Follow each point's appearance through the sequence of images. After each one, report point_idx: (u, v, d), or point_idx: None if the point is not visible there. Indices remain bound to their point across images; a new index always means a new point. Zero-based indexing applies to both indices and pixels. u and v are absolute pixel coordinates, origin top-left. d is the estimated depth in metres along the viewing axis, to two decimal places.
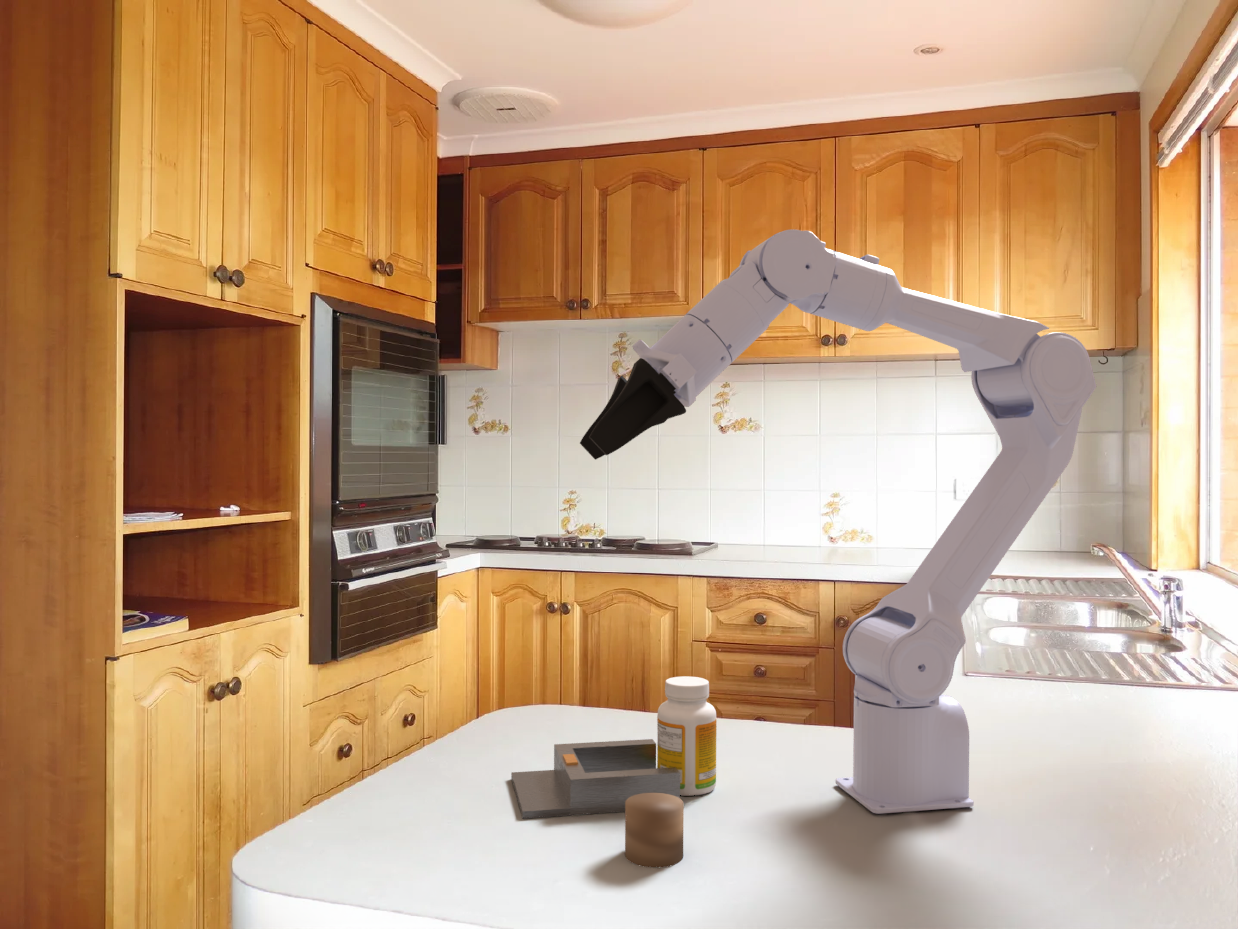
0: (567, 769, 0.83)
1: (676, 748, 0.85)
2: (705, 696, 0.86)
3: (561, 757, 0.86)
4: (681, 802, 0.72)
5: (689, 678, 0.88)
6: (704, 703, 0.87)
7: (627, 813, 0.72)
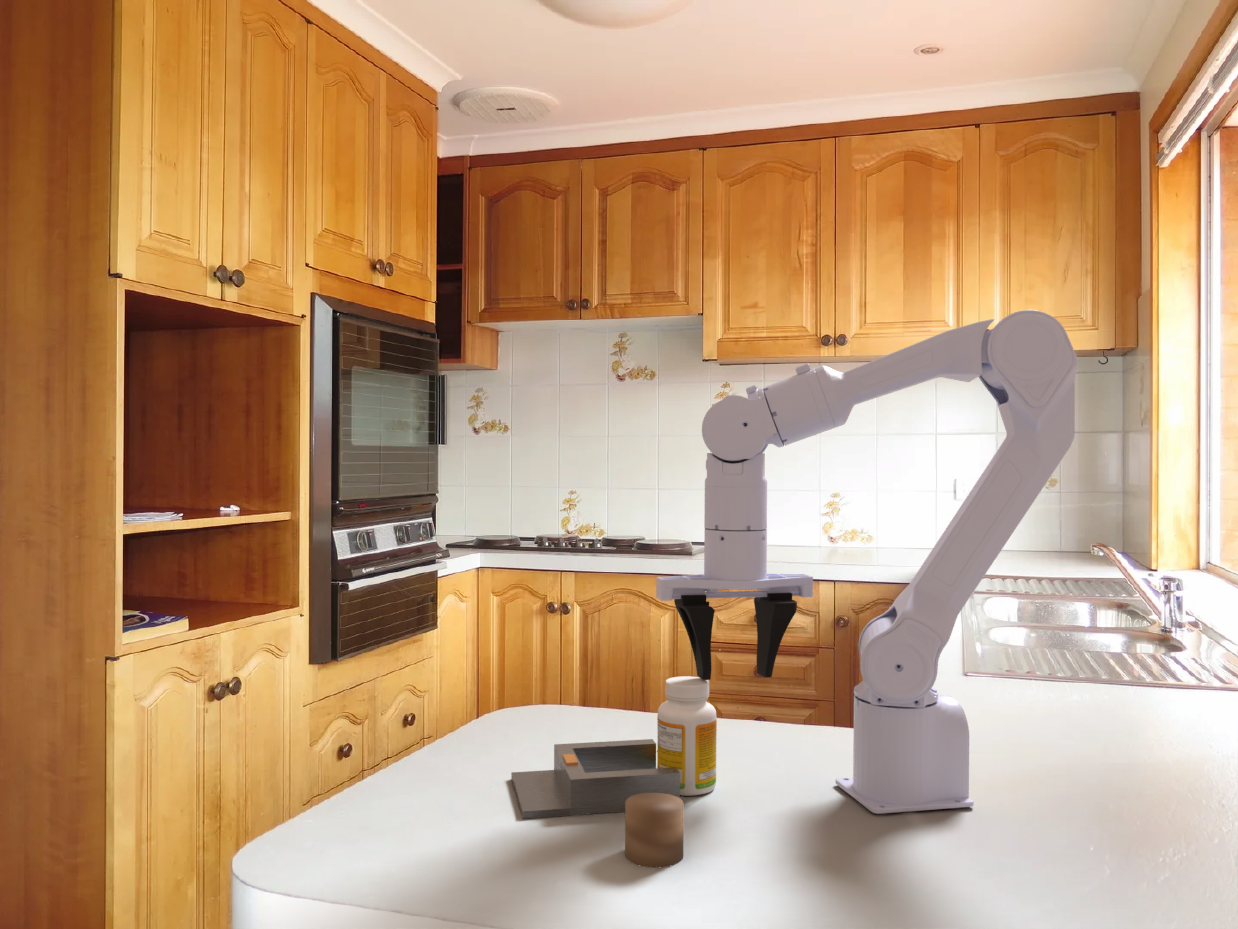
0: (567, 769, 0.83)
1: (676, 748, 0.85)
2: (705, 696, 0.86)
3: (561, 757, 0.86)
4: (681, 802, 0.73)
5: (689, 678, 0.88)
6: (705, 703, 0.87)
7: (627, 813, 0.72)
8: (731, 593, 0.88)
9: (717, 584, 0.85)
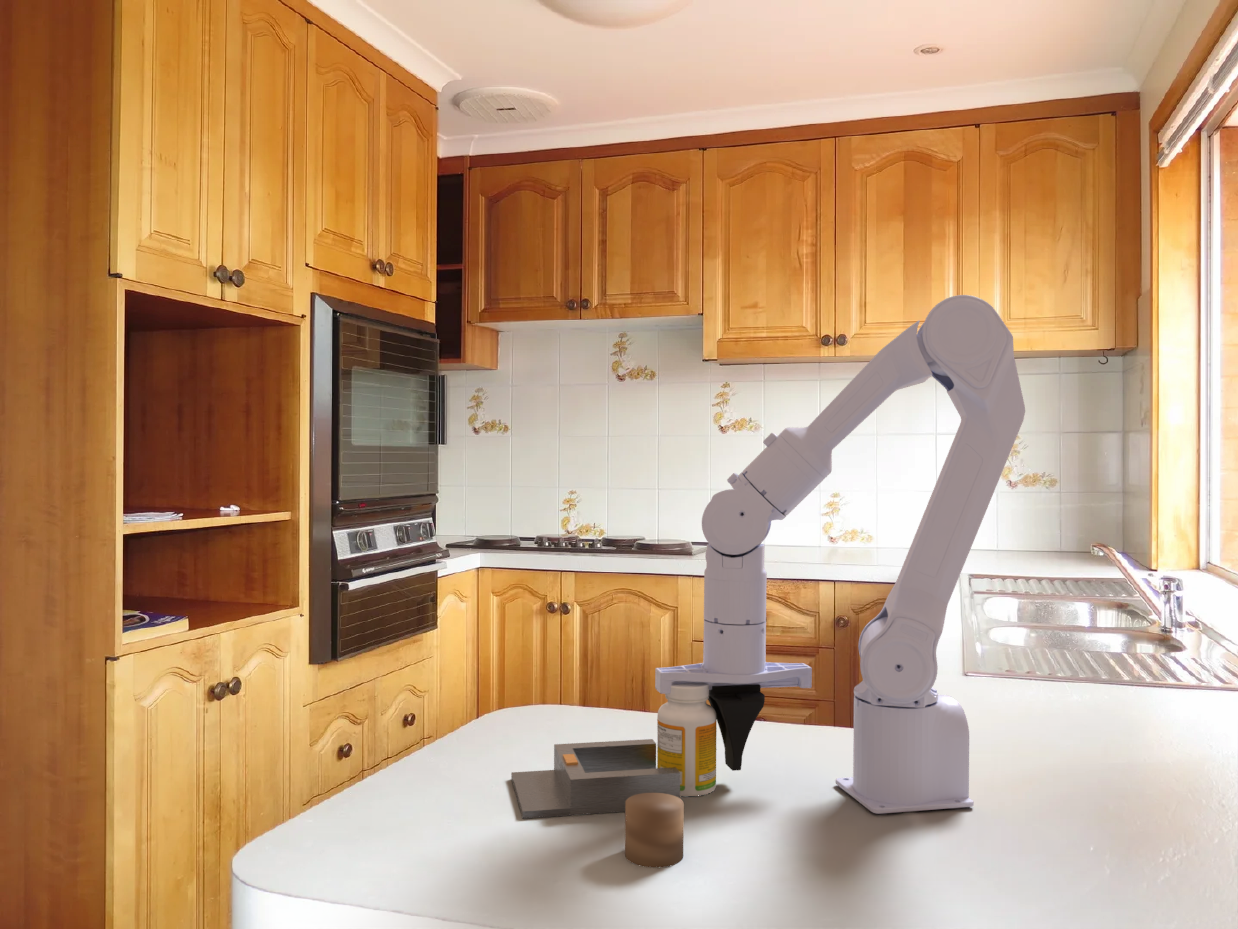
0: (567, 769, 0.83)
1: (676, 750, 0.85)
2: (705, 698, 0.86)
3: (561, 757, 0.86)
4: (681, 802, 0.72)
5: None
6: (704, 705, 0.87)
7: (627, 813, 0.72)
8: (730, 684, 0.88)
9: (716, 678, 0.86)
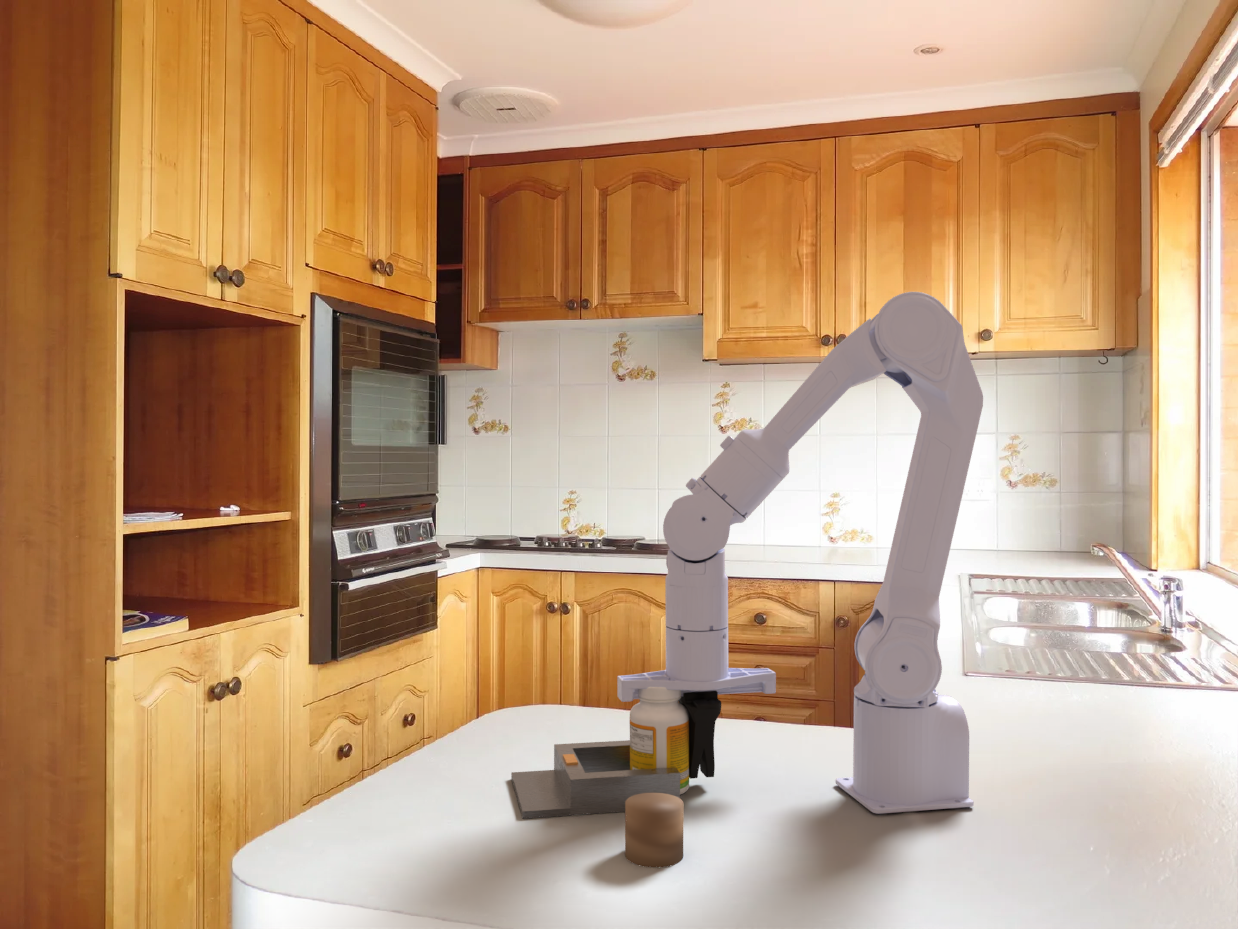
0: (567, 769, 0.83)
1: (647, 750, 0.84)
2: (677, 698, 0.86)
3: (561, 757, 0.86)
4: (681, 802, 0.72)
5: None
6: (676, 704, 0.86)
7: (627, 813, 0.72)
8: (693, 691, 0.87)
9: (677, 685, 0.85)
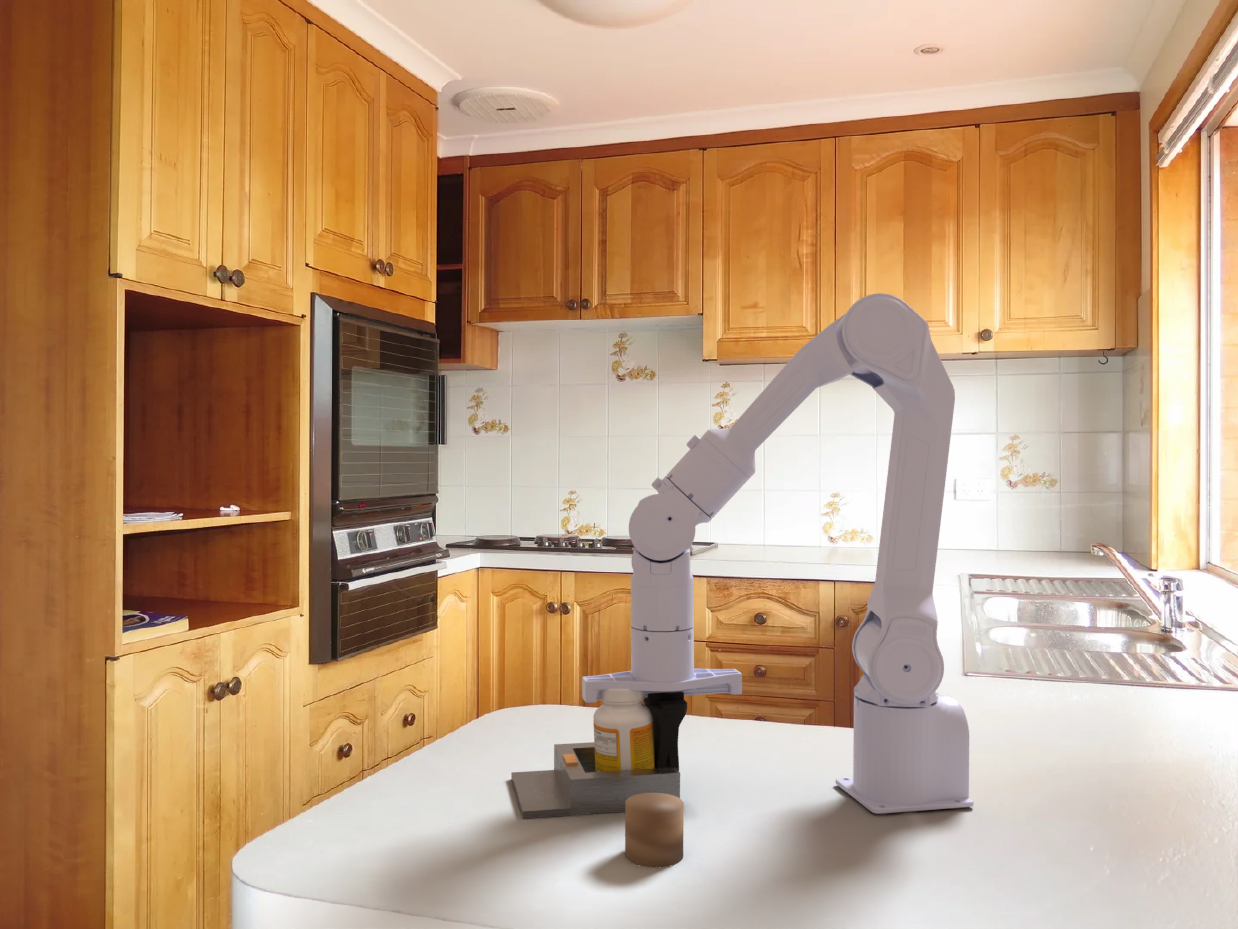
0: (567, 769, 0.83)
1: (611, 753, 0.84)
2: (640, 699, 0.85)
3: (561, 757, 0.86)
4: (681, 802, 0.72)
5: None
6: (640, 706, 0.85)
7: (627, 813, 0.72)
8: (658, 692, 0.86)
9: (642, 686, 0.84)
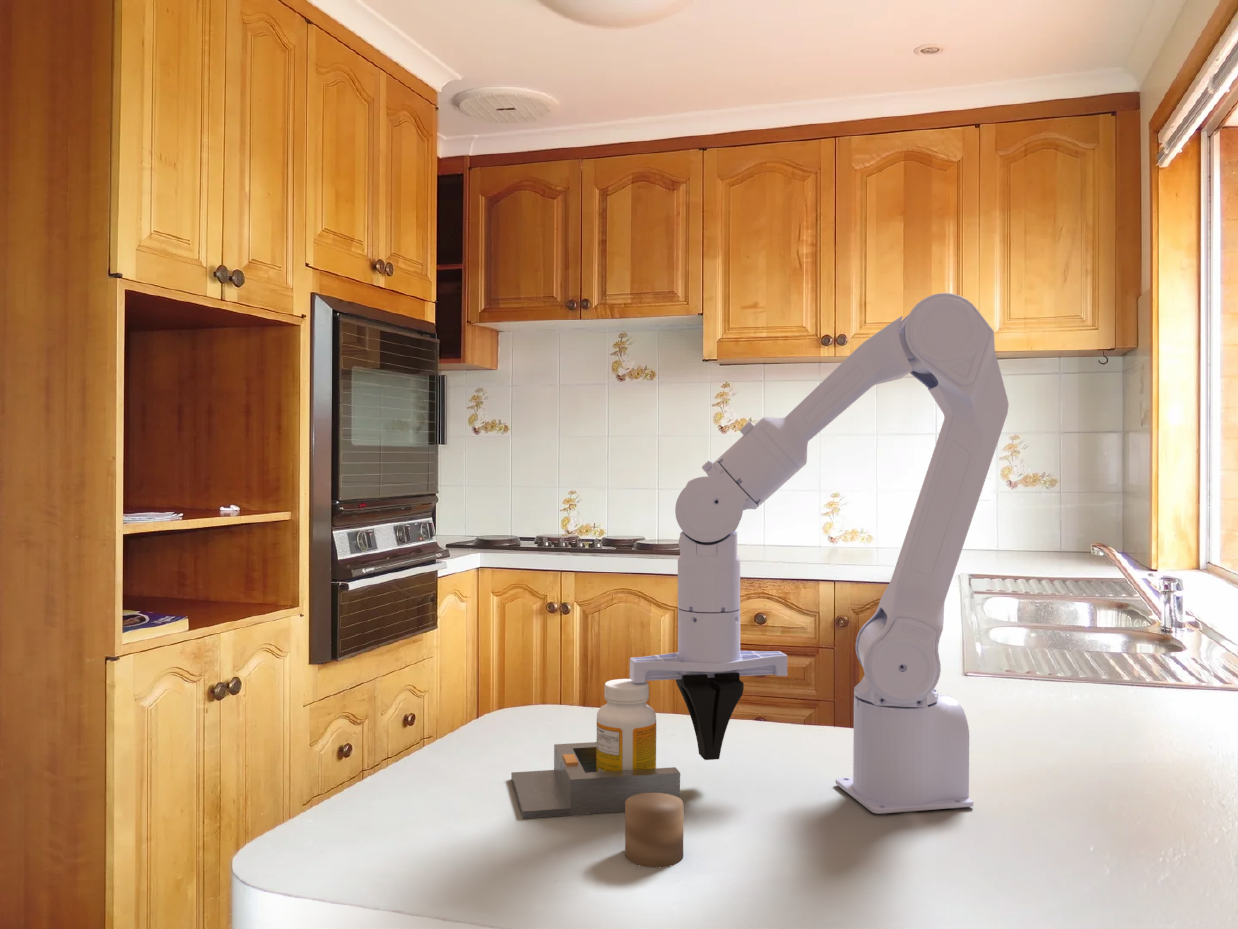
0: (567, 769, 0.83)
1: (613, 752, 0.84)
2: (644, 699, 0.85)
3: (561, 757, 0.86)
4: (681, 802, 0.72)
5: (629, 681, 0.87)
6: (643, 706, 0.85)
7: (627, 813, 0.72)
8: (705, 673, 0.87)
9: (690, 666, 0.85)
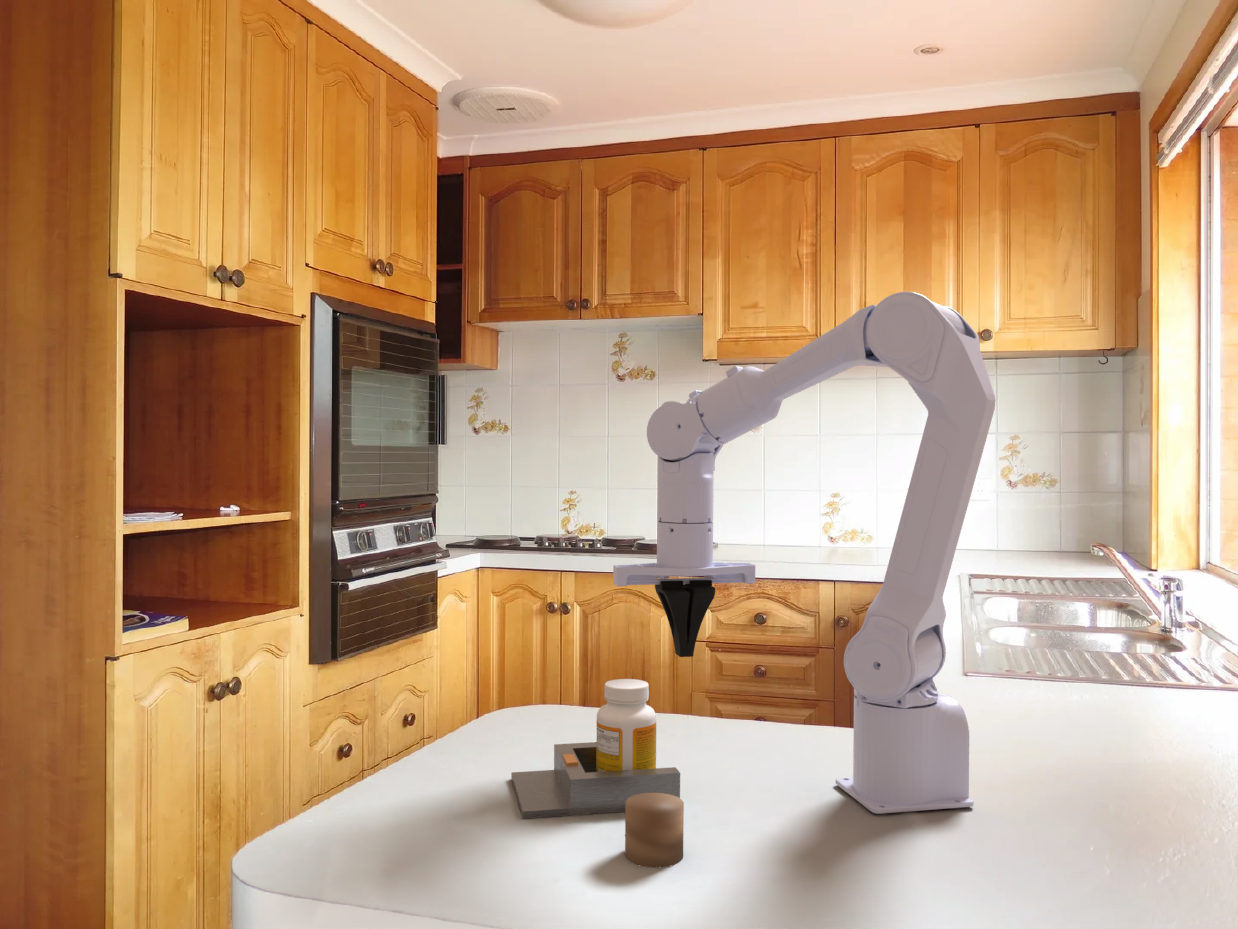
0: (567, 769, 0.83)
1: (613, 752, 0.84)
2: (644, 699, 0.85)
3: (561, 757, 0.86)
4: (681, 802, 0.72)
5: (629, 681, 0.87)
6: (644, 706, 0.85)
7: (627, 813, 0.72)
8: (681, 580, 0.97)
9: (667, 571, 0.95)
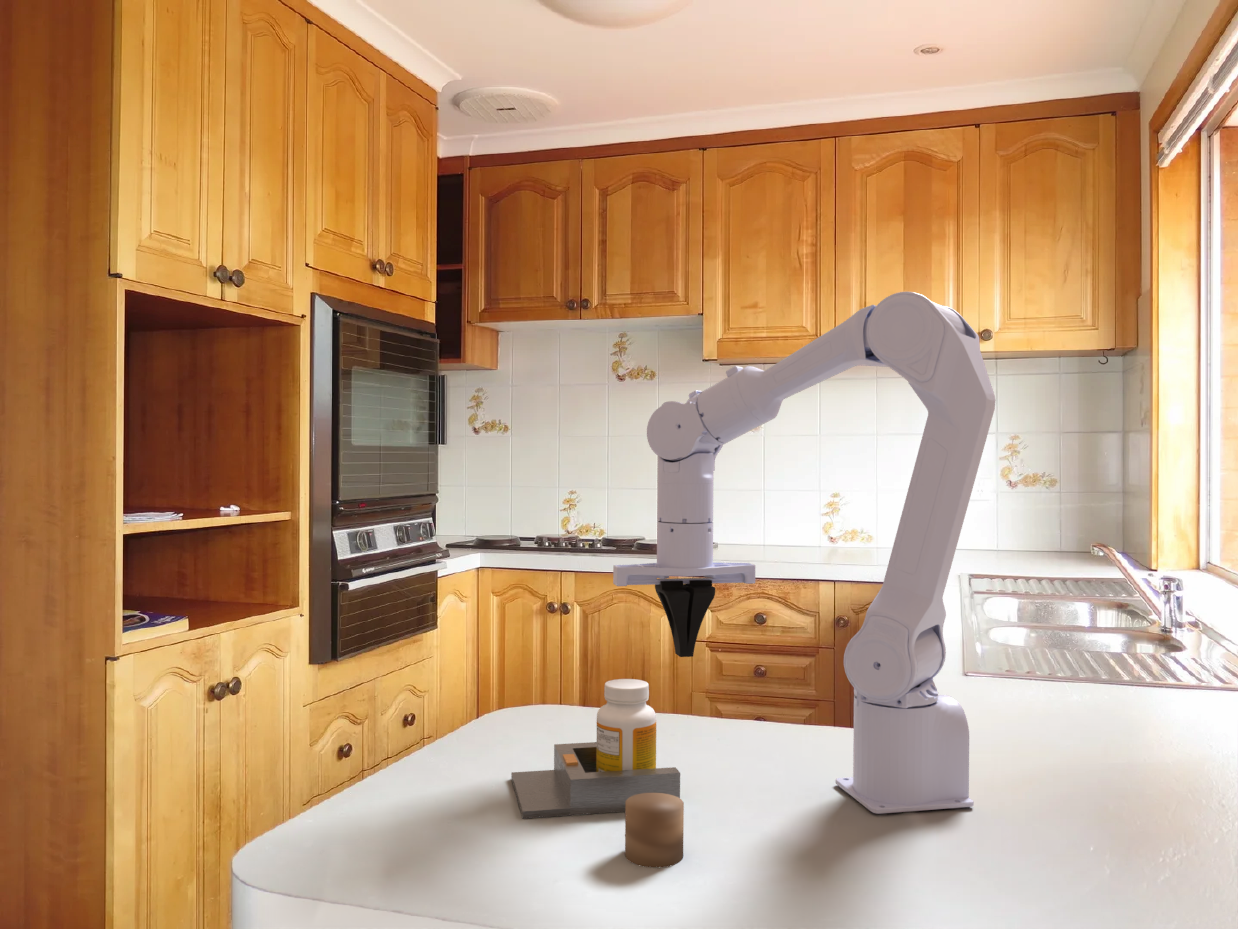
0: (567, 769, 0.83)
1: (613, 752, 0.84)
2: (644, 699, 0.85)
3: (561, 757, 0.86)
4: (681, 802, 0.72)
5: (629, 681, 0.87)
6: (644, 706, 0.85)
7: (627, 813, 0.72)
8: (681, 580, 0.97)
9: (667, 571, 0.95)
